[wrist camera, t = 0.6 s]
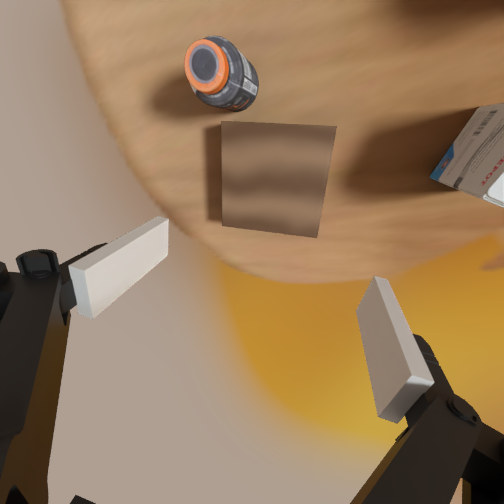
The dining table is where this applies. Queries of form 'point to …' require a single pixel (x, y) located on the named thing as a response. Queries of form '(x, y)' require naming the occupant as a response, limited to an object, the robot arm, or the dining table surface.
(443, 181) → the ink box
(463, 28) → the dining table surface
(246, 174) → the walnut block
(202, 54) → the pill bottle
